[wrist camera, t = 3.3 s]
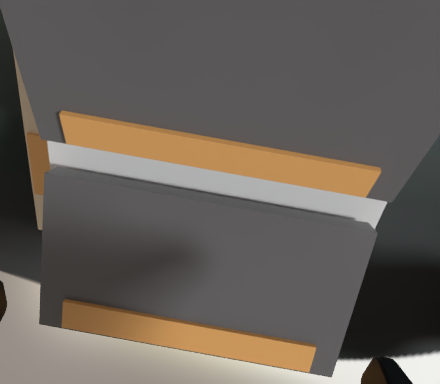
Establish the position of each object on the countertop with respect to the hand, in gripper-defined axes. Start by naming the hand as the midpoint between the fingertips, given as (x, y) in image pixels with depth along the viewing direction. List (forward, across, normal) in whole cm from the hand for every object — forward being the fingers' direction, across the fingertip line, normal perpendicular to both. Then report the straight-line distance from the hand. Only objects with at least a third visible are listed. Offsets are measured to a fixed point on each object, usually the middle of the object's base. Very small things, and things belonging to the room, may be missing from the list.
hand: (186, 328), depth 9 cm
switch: (+5, 0, +3) cm, 6 cm away
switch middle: (+5, 0, -5) cm, 7 cm away
